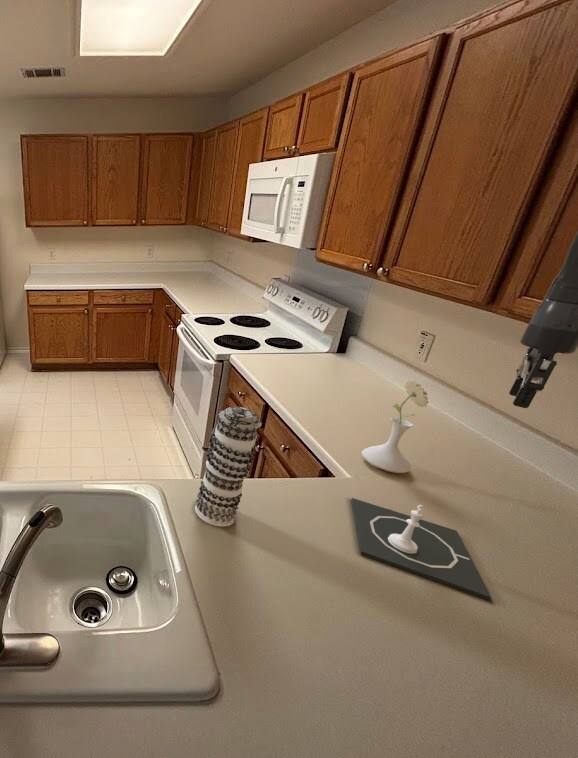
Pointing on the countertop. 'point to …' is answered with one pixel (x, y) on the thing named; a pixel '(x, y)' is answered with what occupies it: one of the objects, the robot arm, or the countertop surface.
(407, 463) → the flower in vase
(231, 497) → the decorative candle
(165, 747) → the countertop surface
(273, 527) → the countertop surface
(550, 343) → the robot arm
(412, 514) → the chess piece
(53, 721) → the countertop surface
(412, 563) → the slate board
